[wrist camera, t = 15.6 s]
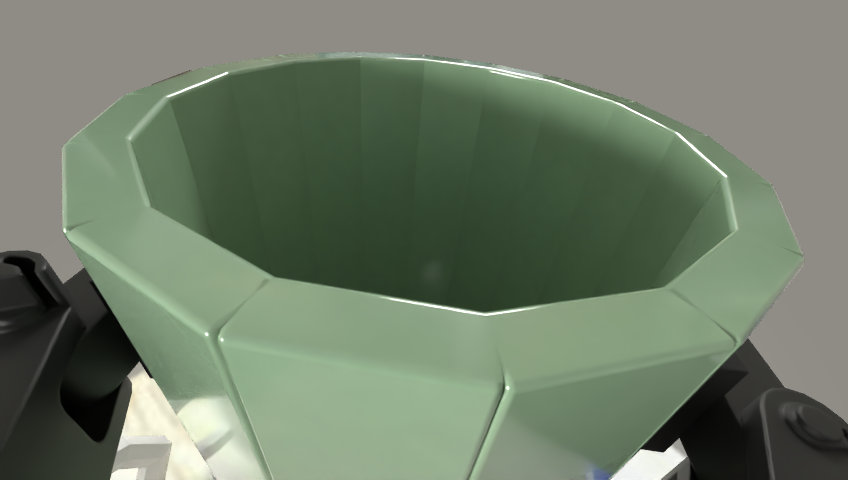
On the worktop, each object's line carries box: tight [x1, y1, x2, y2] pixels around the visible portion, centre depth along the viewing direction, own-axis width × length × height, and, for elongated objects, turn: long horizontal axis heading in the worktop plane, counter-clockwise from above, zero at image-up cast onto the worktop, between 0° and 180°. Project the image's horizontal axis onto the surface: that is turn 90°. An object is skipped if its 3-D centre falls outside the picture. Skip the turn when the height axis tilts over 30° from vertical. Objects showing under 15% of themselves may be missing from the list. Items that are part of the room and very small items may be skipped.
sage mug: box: [62, 52, 805, 480], centre depth 10 cm, size 14×9×10 cm, turn 172°
